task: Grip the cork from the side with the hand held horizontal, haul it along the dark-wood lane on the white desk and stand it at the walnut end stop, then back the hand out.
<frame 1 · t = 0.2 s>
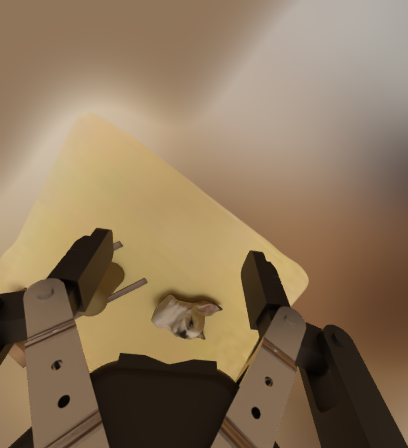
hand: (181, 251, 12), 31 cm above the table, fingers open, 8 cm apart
lane: (86, 286, 46), on the table
ceramic sculpture: (185, 307, 50), on the table
cork: (110, 274, 46), on the table
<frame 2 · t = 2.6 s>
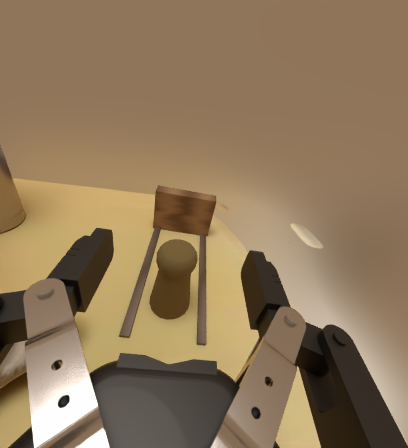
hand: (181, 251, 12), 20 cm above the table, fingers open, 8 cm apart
lane: (174, 270, 37), on the table
ceramic sculpture: (3, 368, 22), on the table
cork: (169, 301, 32), on the table
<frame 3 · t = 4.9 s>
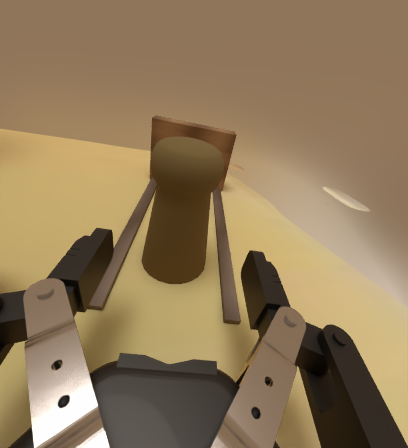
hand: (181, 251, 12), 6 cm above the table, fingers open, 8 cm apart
lane: (180, 223, 25), on the table
cork: (174, 260, 20), on the table
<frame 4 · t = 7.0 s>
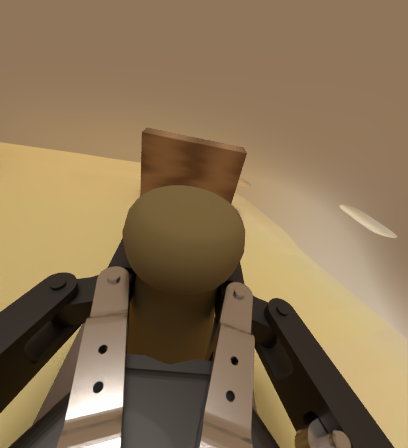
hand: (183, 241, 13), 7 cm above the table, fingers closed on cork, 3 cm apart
lane: (175, 272, 19), on the table
cork: (166, 340, 14), on the table, touching gripper
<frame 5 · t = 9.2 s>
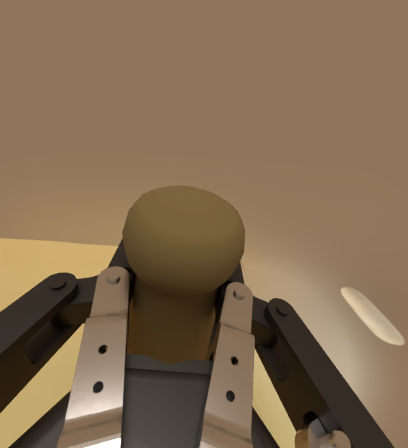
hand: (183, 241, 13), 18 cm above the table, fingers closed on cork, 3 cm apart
cork: (166, 340, 14), point 11 cm above the table, touching gripper
when the fingers open (8 cm above the table, at t = 11.5 s): cork moves 3 cm, on the table.
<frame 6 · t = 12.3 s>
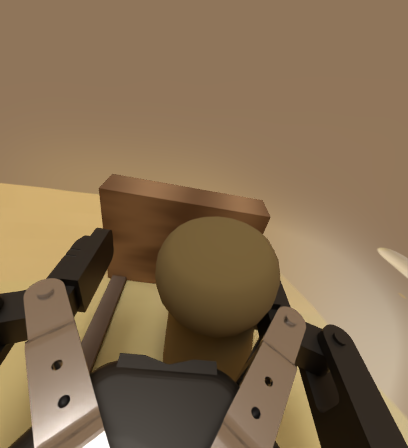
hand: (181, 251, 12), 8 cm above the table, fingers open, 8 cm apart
cork: (205, 358, 15), on the table, touching gripper
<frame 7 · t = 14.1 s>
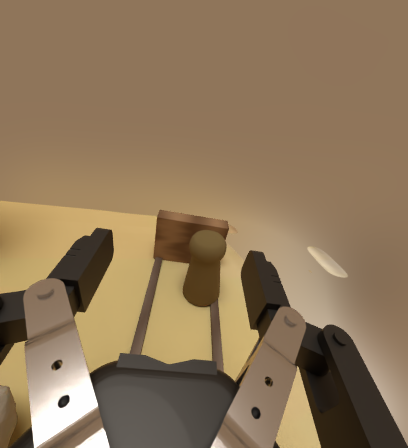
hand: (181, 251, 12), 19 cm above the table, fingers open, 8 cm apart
lane: (180, 317, 30), on the table
cork: (201, 290, 34), on the table, touching lane
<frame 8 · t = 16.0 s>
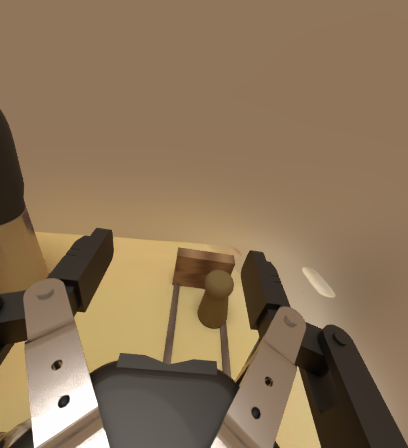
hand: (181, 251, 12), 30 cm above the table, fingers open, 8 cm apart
lane: (197, 338, 38), on the table
cork: (212, 314, 42), on the table, touching lane
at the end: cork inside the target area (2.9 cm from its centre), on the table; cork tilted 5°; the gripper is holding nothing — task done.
